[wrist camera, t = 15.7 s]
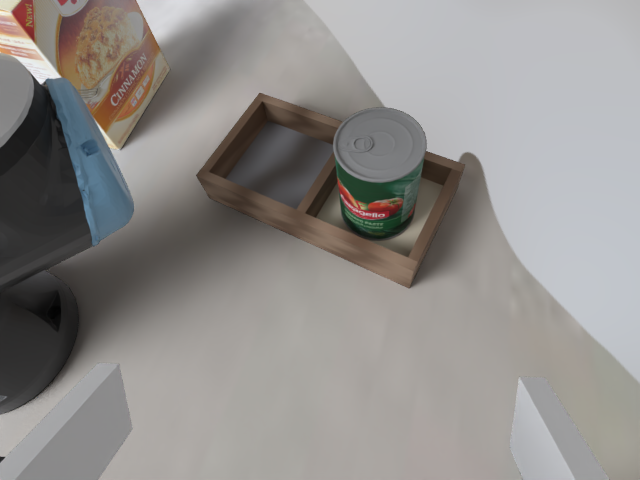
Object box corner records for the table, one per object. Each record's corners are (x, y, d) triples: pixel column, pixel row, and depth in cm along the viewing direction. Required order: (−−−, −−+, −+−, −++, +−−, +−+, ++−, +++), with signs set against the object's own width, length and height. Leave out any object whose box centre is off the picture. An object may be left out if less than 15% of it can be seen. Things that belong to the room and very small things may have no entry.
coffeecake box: (121, 151, 55) (9, 11, 38) (75, 141, 57) (-53, 2, 40) (173, 68, 61) (97, -85, 44) (130, 61, 63) (40, -90, 46)
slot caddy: (209, 197, 51) (196, 175, 47) (267, 119, 55) (259, 92, 51) (409, 288, 44) (413, 271, 40) (456, 189, 48) (465, 164, 44)
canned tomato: (413, 177, 48) (424, 105, 38) (416, 241, 44) (430, 179, 35) (341, 178, 49) (334, 108, 39) (339, 241, 45) (331, 181, 36)
